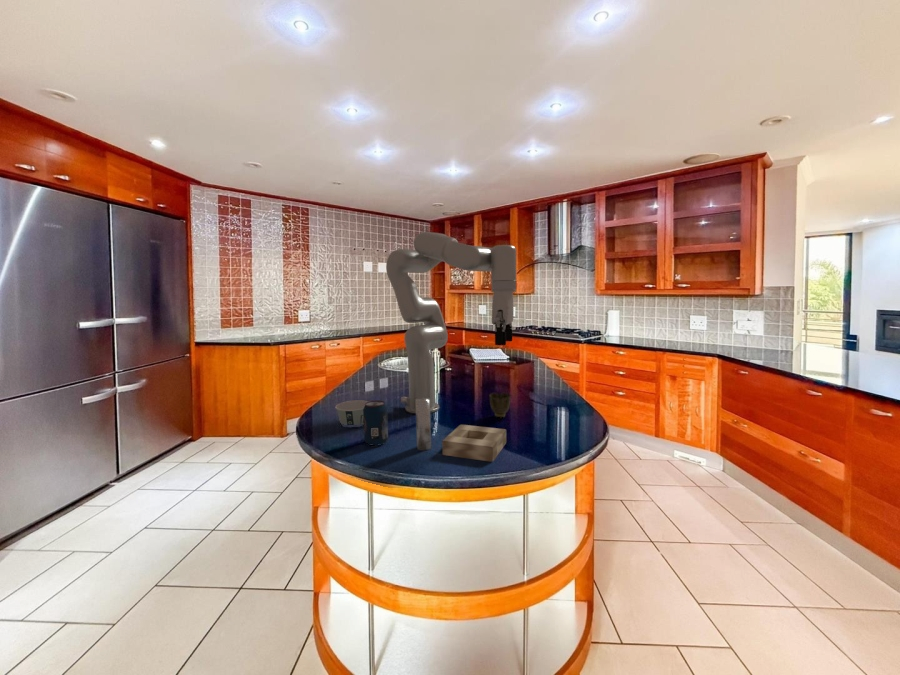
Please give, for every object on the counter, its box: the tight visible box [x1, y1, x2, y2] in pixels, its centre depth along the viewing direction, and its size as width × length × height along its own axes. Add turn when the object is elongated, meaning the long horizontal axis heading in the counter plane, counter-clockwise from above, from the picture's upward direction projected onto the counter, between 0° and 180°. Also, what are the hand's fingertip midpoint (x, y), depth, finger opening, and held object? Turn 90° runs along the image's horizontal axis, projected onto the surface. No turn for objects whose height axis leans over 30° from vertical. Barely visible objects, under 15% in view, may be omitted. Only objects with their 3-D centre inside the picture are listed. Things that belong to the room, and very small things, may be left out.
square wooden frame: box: [441, 424, 507, 463], centre depth 113 cm, size 14×14×4 cm
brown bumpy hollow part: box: [488, 392, 511, 419], centre depth 141 cm, size 8×7×8 cm
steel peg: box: [415, 398, 432, 451], centre depth 114 cm, size 4×4×14 cm
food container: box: [334, 399, 369, 425], centre depth 138 cm, size 12×12×6 cm
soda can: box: [363, 400, 389, 445], centre depth 119 cm, size 7×7×12 cm
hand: (504, 343), depth 125 cm, fingers open, 9 cm apart
